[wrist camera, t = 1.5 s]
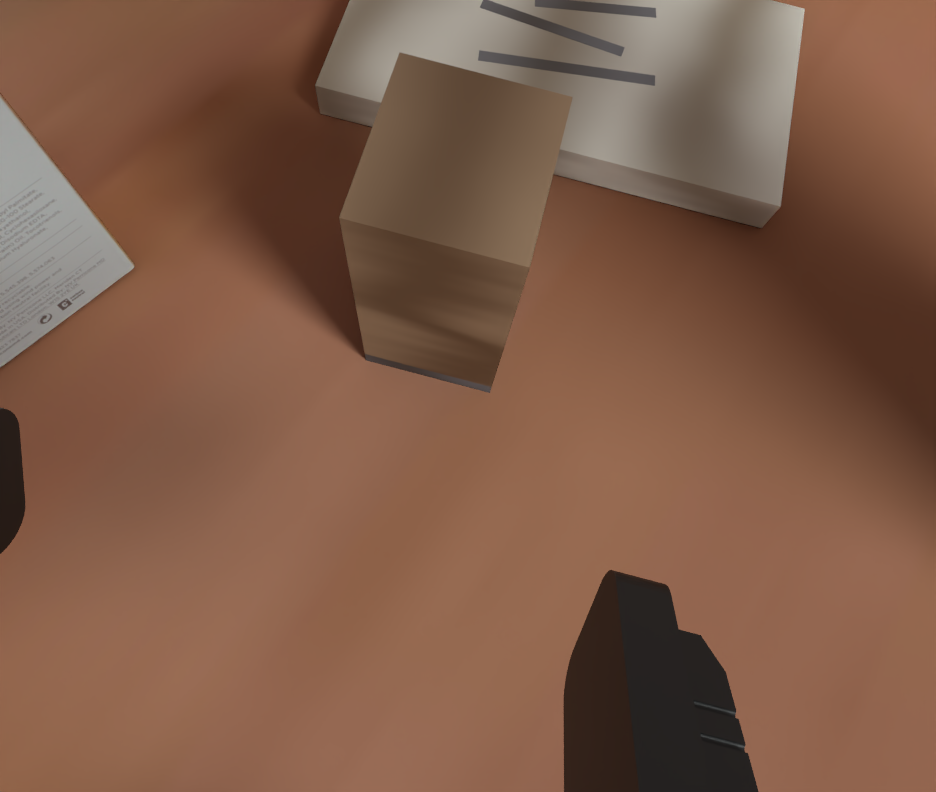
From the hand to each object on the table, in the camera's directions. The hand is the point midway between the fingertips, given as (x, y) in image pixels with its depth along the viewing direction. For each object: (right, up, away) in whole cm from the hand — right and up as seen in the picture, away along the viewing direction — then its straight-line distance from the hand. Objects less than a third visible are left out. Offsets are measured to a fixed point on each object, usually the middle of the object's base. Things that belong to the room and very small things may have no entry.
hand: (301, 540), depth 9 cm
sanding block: (+1, +5, +16) cm, 17 cm away
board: (+6, +15, +20) cm, 26 cm away
